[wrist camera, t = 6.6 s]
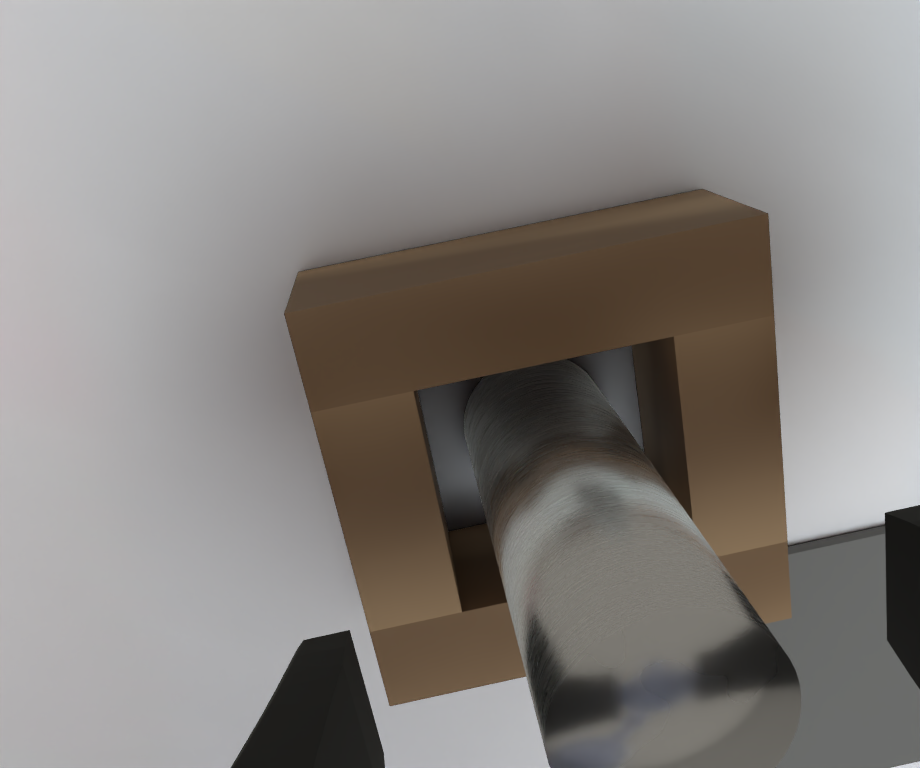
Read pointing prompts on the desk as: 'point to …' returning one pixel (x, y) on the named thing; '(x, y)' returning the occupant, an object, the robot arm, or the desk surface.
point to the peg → (618, 590)
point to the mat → (846, 659)
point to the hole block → (528, 344)
